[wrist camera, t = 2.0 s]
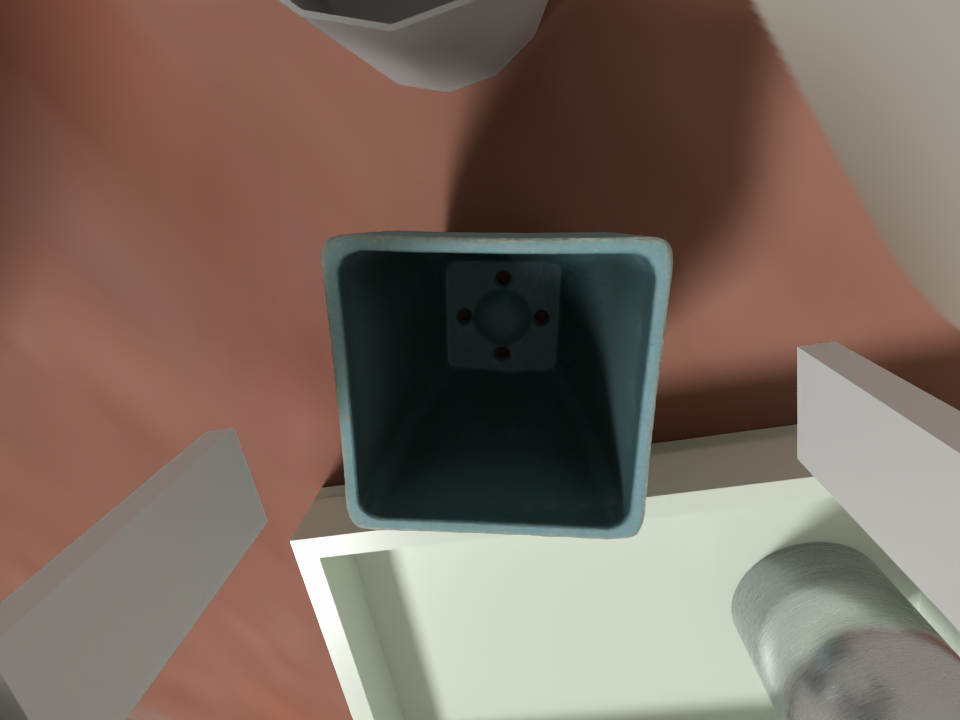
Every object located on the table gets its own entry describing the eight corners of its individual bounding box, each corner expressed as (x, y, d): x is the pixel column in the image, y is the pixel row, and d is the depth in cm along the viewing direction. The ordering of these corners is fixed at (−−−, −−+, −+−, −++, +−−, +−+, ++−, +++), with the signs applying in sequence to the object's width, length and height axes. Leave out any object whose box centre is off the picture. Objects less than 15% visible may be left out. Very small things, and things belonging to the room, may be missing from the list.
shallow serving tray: (405, 749, 32) (391, 826, 29) (321, 487, 27) (289, 541, 23) (915, 711, 29) (975, 792, 25) (945, 404, 23) (1028, 450, 20)
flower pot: (402, 408, 25) (346, 533, 17) (391, 207, 22) (316, 234, 14) (598, 412, 25) (642, 543, 16) (613, 207, 22) (677, 235, 13)
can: (733, 665, 28) (816, 853, 20) (728, 551, 25) (819, 714, 18) (882, 652, 27) (1027, 843, 19) (890, 533, 25) (1057, 696, 17)
